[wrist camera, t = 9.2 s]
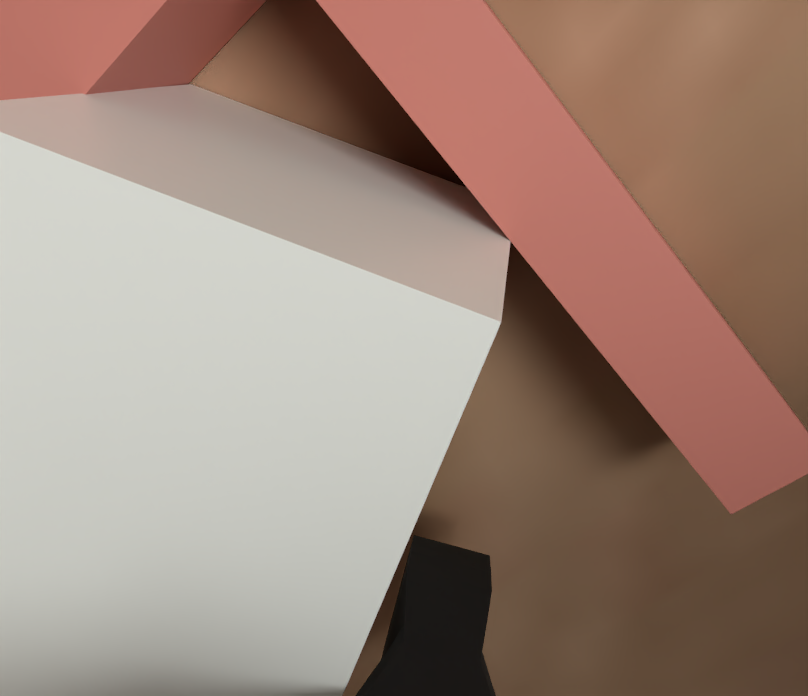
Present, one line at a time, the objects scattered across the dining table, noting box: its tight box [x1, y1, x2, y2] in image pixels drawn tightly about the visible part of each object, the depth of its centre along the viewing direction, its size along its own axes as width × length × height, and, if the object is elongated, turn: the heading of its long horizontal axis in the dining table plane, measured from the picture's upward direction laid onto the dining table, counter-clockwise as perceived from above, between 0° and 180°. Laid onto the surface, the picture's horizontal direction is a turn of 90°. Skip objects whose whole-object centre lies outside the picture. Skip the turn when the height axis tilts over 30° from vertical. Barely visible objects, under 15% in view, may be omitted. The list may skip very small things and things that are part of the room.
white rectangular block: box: [0, 84, 511, 696], centre depth 9 cm, size 4×6×4 cm
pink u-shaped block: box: [0, 0, 808, 514], centre depth 8 cm, size 14×11×4 cm
